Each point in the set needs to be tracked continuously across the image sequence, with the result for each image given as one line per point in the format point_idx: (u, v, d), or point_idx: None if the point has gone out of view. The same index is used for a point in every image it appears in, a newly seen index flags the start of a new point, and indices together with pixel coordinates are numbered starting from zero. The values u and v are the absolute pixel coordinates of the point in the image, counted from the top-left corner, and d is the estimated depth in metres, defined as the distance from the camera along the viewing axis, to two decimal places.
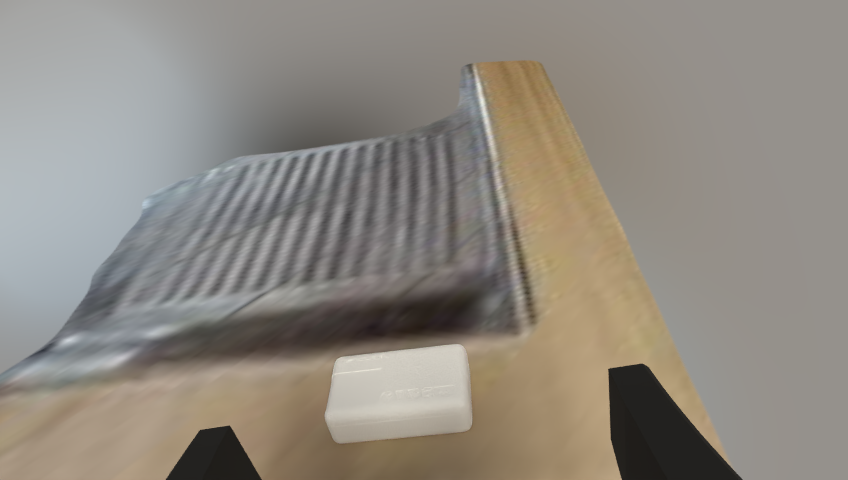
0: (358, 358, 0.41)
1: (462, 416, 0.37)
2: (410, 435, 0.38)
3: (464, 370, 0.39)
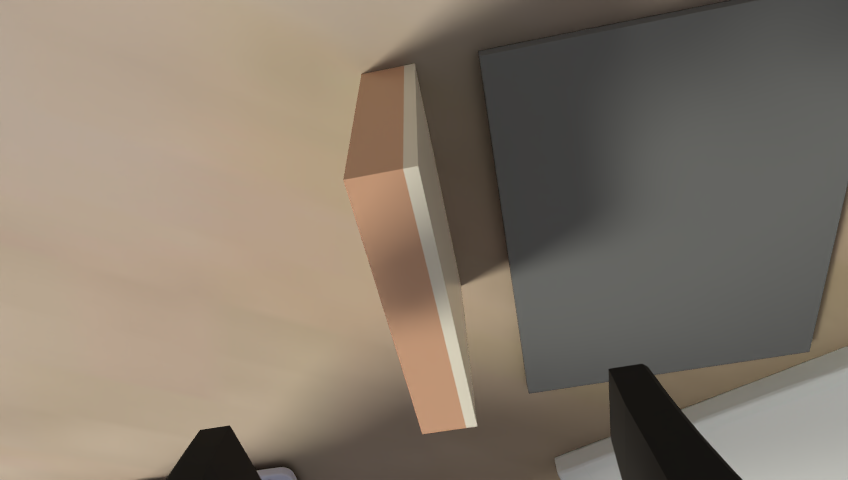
0: None
1: None
2: None
3: None
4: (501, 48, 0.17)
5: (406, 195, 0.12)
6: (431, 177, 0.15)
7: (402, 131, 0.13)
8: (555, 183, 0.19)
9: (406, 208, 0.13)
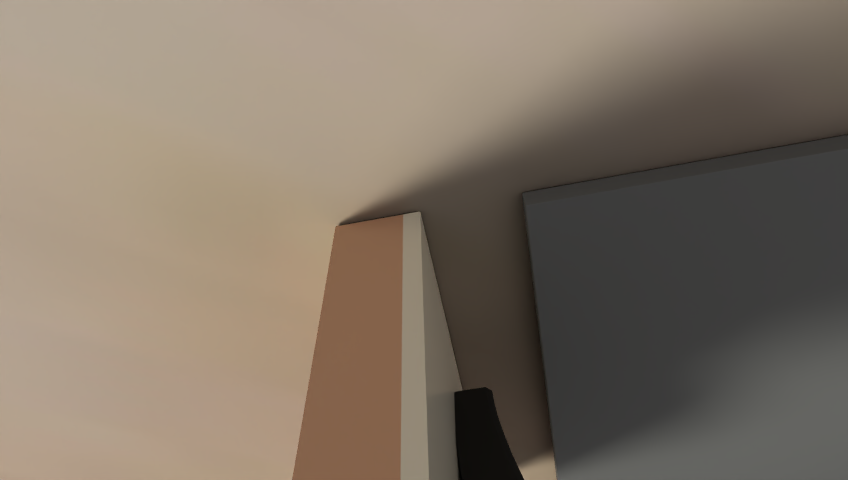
0: None
1: None
2: None
3: None
4: (559, 190, 0.10)
5: None
6: (449, 428, 0.09)
7: (399, 414, 0.07)
8: (631, 370, 0.12)
9: None
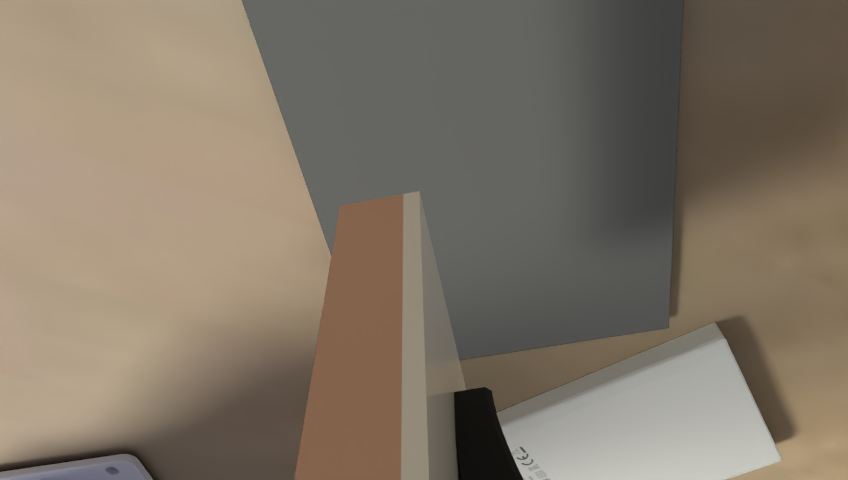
0: None
1: None
2: None
3: None
4: None
5: None
6: (446, 389, 0.10)
7: (400, 366, 0.08)
8: (352, 136, 0.17)
9: None
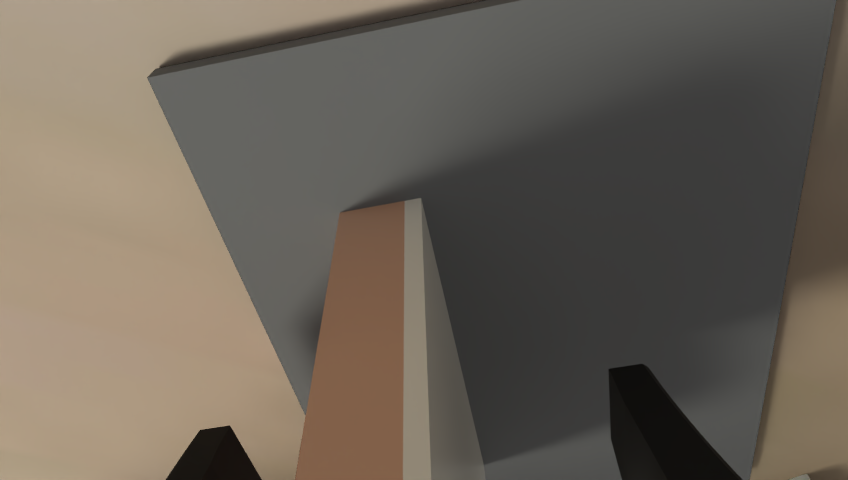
0: None
1: None
2: None
3: None
4: (189, 64, 0.10)
5: None
6: (449, 403, 0.10)
7: (401, 383, 0.08)
8: (328, 272, 0.12)
9: None
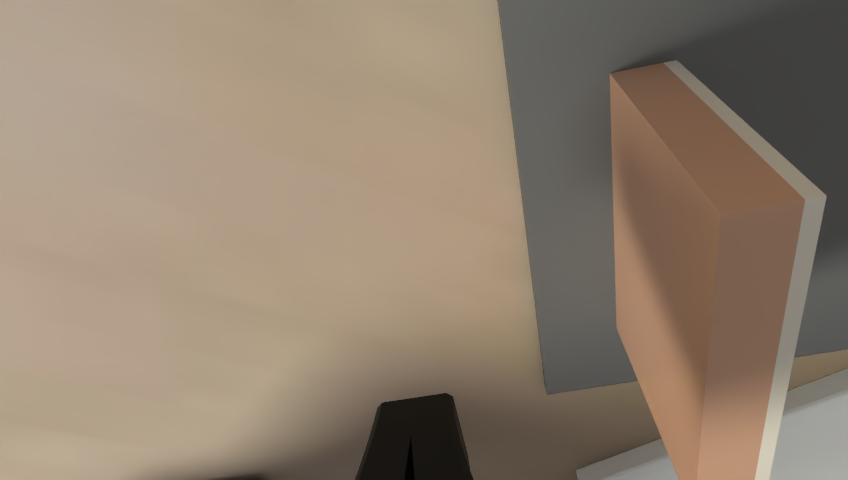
0: None
1: None
2: None
3: None
4: None
5: (795, 233, 0.09)
6: None
7: (749, 147, 0.10)
8: (587, 128, 0.15)
9: (787, 250, 0.09)
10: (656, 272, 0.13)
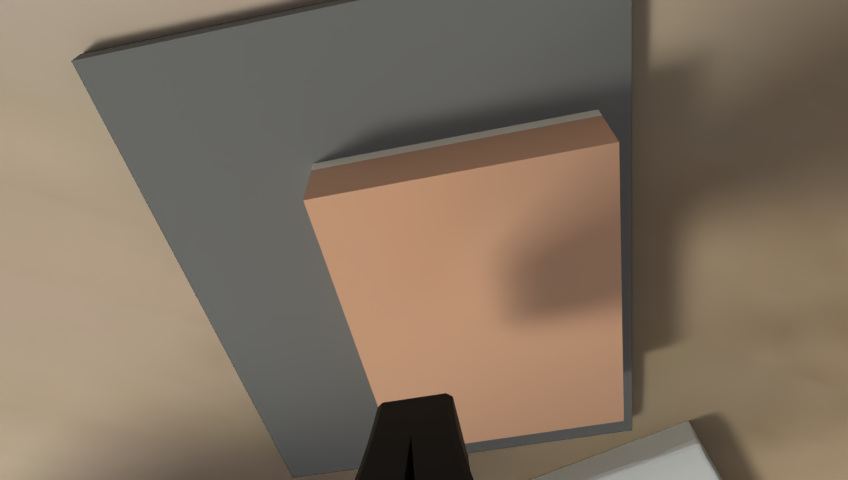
0: None
1: None
2: None
3: None
4: (107, 50, 0.12)
5: None
6: None
7: (516, 132, 0.12)
8: (237, 230, 0.14)
9: None
10: (496, 297, 0.13)
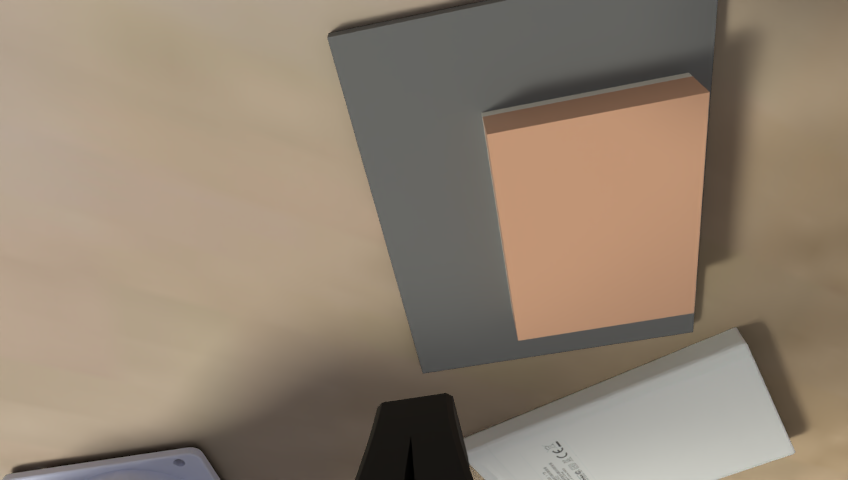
0: None
1: None
2: None
3: None
4: (349, 30, 0.17)
5: None
6: None
7: (631, 88, 0.18)
8: (419, 163, 0.19)
9: None
10: (611, 209, 0.18)
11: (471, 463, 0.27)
